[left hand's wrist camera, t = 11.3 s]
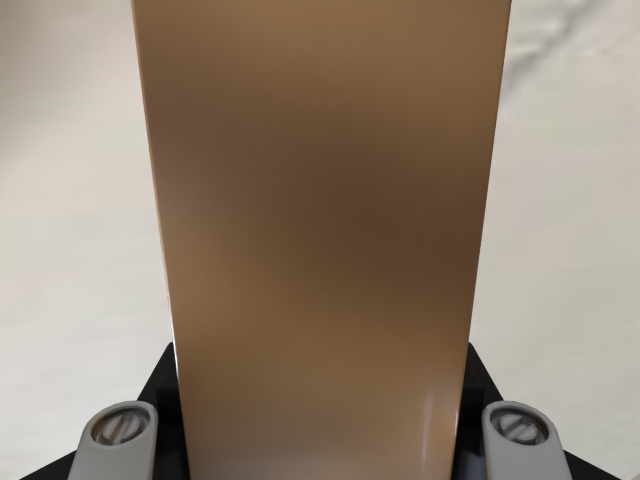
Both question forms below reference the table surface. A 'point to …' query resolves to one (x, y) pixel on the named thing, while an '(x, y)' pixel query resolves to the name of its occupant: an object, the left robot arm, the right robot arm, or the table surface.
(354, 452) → the bar
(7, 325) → the table surface
